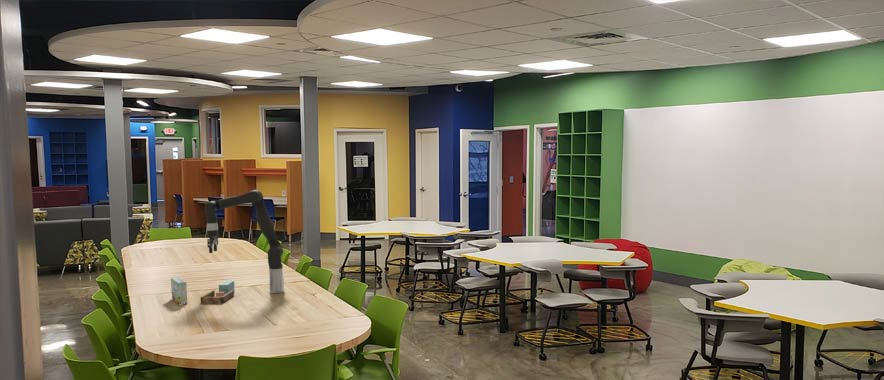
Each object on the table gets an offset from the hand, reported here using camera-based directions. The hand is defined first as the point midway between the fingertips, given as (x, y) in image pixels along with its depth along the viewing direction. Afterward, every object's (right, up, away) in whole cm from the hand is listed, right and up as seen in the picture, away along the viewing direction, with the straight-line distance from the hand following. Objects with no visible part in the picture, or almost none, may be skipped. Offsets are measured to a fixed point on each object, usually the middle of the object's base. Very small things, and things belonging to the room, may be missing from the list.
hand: (213, 252), depth 432 cm
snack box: (-13, -31, -25) cm, 42 cm away
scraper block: (+11, -29, -3) cm, 31 cm away
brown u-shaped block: (+11, -30, -20) cm, 38 cm away
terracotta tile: (+11, -30, -14) cm, 35 cm away
